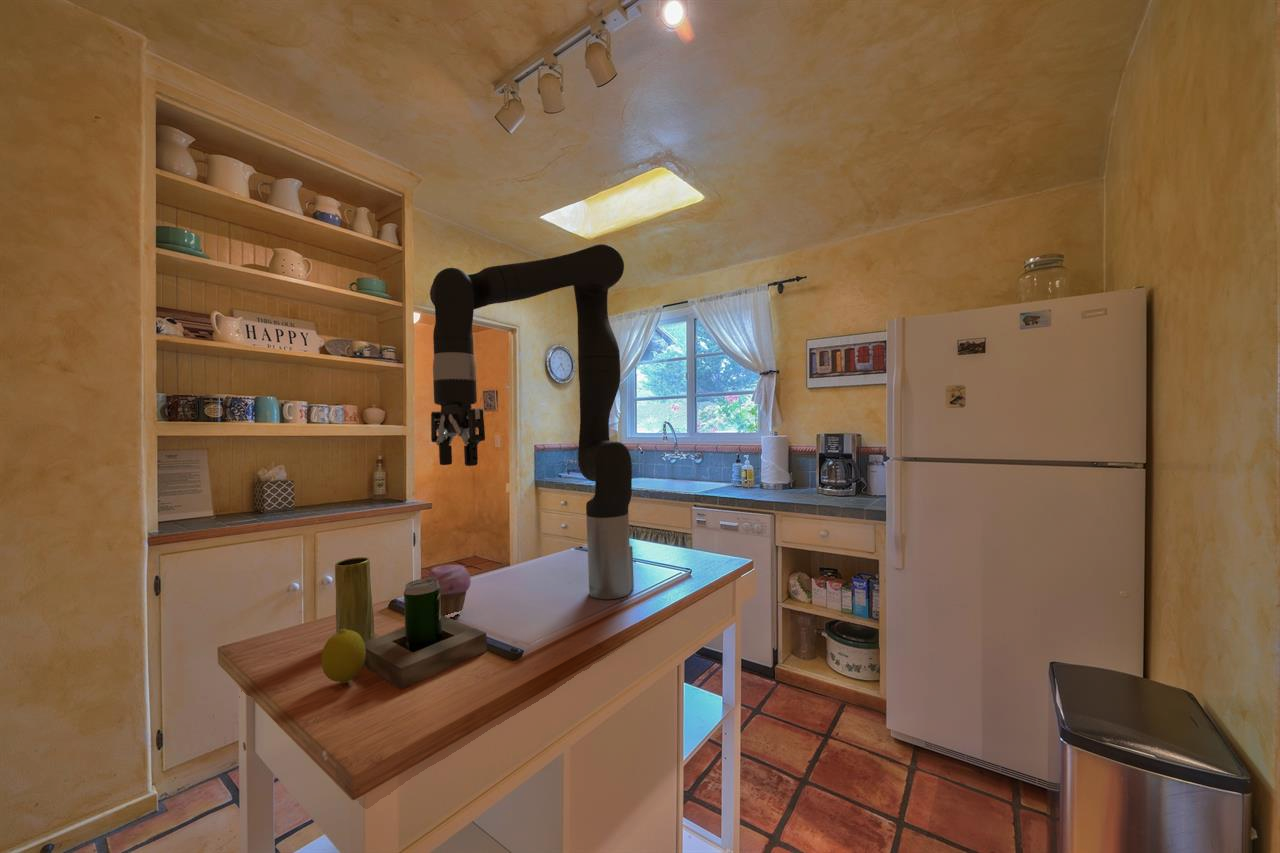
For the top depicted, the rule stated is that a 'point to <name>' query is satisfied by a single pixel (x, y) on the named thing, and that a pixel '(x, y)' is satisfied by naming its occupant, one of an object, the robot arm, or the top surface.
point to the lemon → (343, 655)
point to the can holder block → (422, 653)
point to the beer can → (422, 614)
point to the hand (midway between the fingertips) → (458, 465)
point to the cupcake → (451, 586)
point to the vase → (354, 597)
